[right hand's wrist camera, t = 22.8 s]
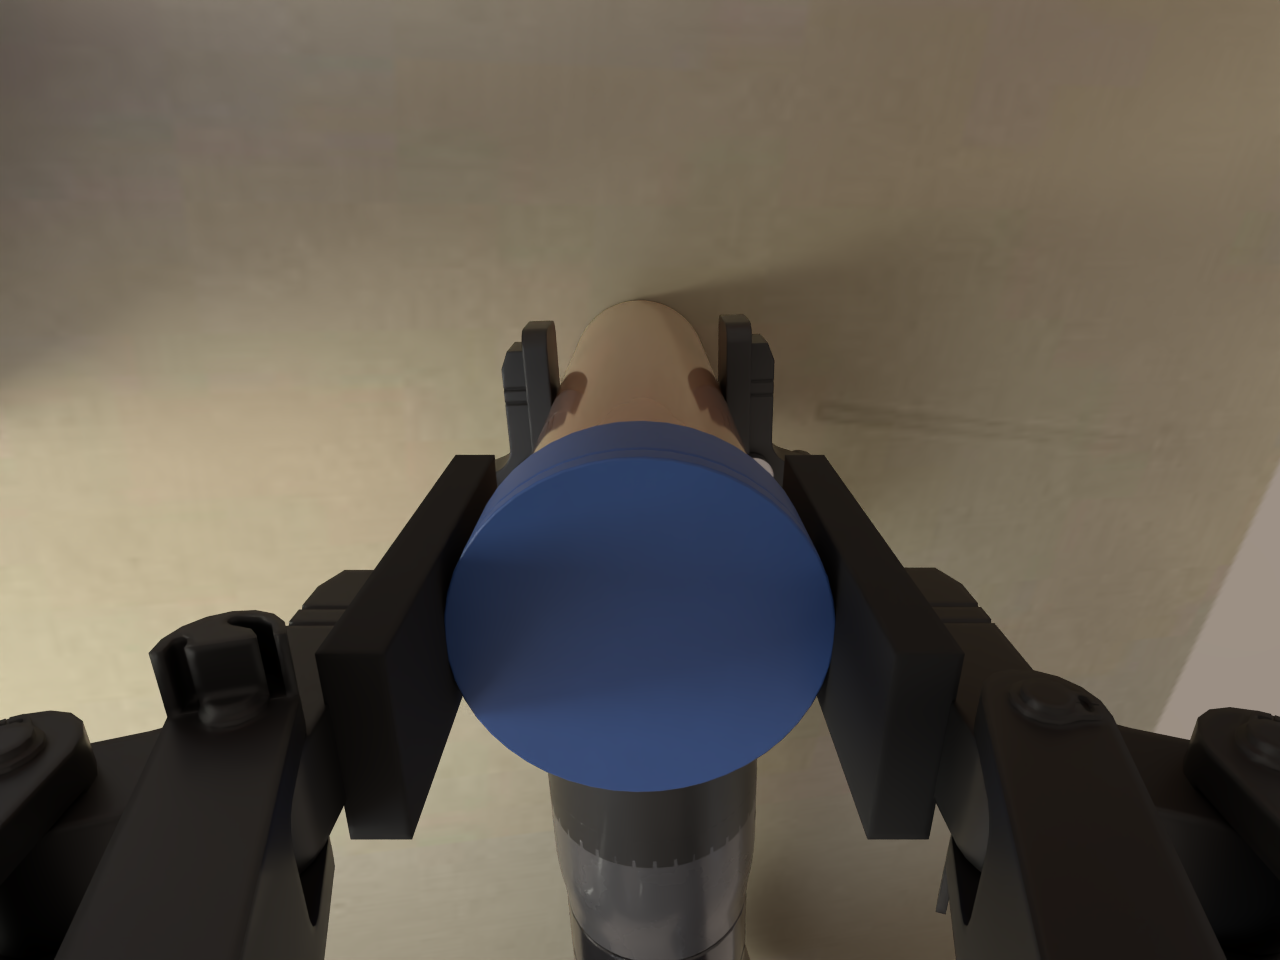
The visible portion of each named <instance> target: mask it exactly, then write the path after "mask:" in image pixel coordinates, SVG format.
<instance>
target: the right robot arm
mask: <svg viewBox="0 0 1280 960" xmlns="http://www.w3.org/2000/svg"><path fill="white" fill-rule="evenodd" d="M782 488H783V490H784V491H785V492H786V494H787V496H788V497H789V499H790V501H791V502H792V504H793V505H794V507H795V509H796V511H797V513H798V515H799V517H800V519H801V521H802V523H803V525H804V527H805V529H806V531H807V533H808V535H809V537H810V539H811V541H812V543H813V545H814V547H815V549H816V551H817V553H818V555H819V557H820V559H821V562H822V564H823V566H824V569H825V571H826V573H827V576H828V579H829V582H830V586H831V590H832V594H833V598H834V607H835V630H834V640H833V648H832V656H831V662H830V666H829V668H828V671H827V674H826V676H825V679H824V682H823V684H822V687H821V689H820V690H819V692H818V694H817V698H818V700H819V703H820V706H821V709H822V712H823V715H824V717H825V720H826V723H827V726H828V729H829V732H830V734H831V737H832V740H833V743H834V746H835V749H836V751H837V754H838V757H839V760H840V763H841V766H842V768H843V771H844V774H845V777H846V780H847V783H848V785H849V788H850V791H851V794H852V797H853V799H854V802H855V805H856V808H857V811H858V814H859V816H860V819H861V822H862V825H863V828H864V831H865V833H866V836H867V839H929V836H930V831H931V825H932V820H933V815H934V810H935V805H936V804H937V806H938V808H939V810H940V812H941V814H942V816H943V818H944V820H945V822H946V824H947V826H948V828H949V830H950V832H951V837H950V842H949V847H948V851H947V856H946V861H945V866H944V871H943V875H942V880H941V885H940V890H939V894H938V900H937V907H936V912H938V913H942V914H946V910H947V905H948V901H949V902H950V910H951V919H952V928H953V937H954V945H955V954H956V960H1280V717H1279V716H1276V715H1275V716H1272V715H1271V714H1269V713H1265V712H1260V711H1254V710H1247V709H1239V708H1232V707H1228V708H1218V709H1210V710H1208V711H1207V712H1205V713H1204V714H1202V715H1201V716H1200V717H1198V719H1197V722H1196V725H1195V728H1194V731H1193V734H1192V736H1191V739H1190V740H1186V739H1182V738H1177V737H1172V736H1167V735H1162V734H1157V733H1152V732H1147V731H1142V730H1137V729H1132V728H1128V727H1124V726H1121V725H1117V724H1116V722H1115V720H1114V718H1113V716H1112V715H1111V713H1110V712H1109V711H1108V709H1107V708H1106V707H1105V706H1104V704H1103V703H1102V702H1101V701H1100V700H1099V699H1098V698H1096V697H1095V696H1093V695H1092V694H1091V693H1089V692H1088V691H1086V690H1085V689H1084V688H1082V687H1080V686H1078V685H1076V684H1074V683H1071V682H1069V681H1067V680H1065V679H1063V678H1060V677H1058V676H1054V675H1050V674H1046V673H1042V672H1038V671H1034V670H1033V669H1032V668H1031V667H1030V666H1029V664H1028V663H1027V662H1026V661H1025V660H1024V658H1023V657H1022V656H1021V655H1020V654H1019V652H1018V651H1017V650H1016V649H1015V647H1014V646H1013V645H1012V644H1011V643H1010V641H1009V640H1008V639H1007V638H1006V637H1005V635H1004V634H1003V633H1002V632H1001V631H1000V629H999V628H998V627H997V626H996V625H995V623H991V619H990V617H989V616H988V615H987V614H986V613H985V611H984V610H983V609H982V608H981V607H978V603H977V602H976V600H975V599H974V598H973V597H972V596H971V594H970V593H969V592H968V591H967V590H966V588H965V587H964V586H963V585H962V584H961V583H959V582H958V581H956V580H954V579H953V578H951V577H950V576H948V575H946V574H945V573H943V572H941V571H940V570H938V569H936V568H904V567H903V566H902V564H901V563H900V561H899V560H898V559H897V557H896V556H895V554H894V553H893V552H892V550H891V549H890V547H889V546H888V545H887V543H886V542H885V540H884V539H883V538H882V536H881V535H880V533H879V532H878V530H877V529H876V528H875V526H874V525H873V523H872V522H871V521H870V519H869V518H868V516H867V515H866V514H865V512H864V511H863V509H862V508H861V507H860V505H859V504H858V502H857V501H856V499H855V498H854V497H853V495H852V494H851V492H850V491H849V490H848V488H847V487H846V485H845V484H844V483H843V481H842V480H841V478H840V477H839V476H838V474H837V473H836V471H835V470H834V468H833V467H832V466H831V464H830V463H829V461H828V460H827V459H826V457H825V456H824V455H785V461H784V474H783V486H782ZM496 489H497V479H496V467H495V455H455V457H454V458H453V459H452V461H451V462H450V464H449V465H448V466H447V468H446V469H445V471H444V472H443V473H442V475H441V476H440V478H439V479H438V481H437V482H436V483H435V485H434V486H433V488H432V489H431V490H430V492H429V493H428V495H427V496H426V497H425V499H424V500H423V502H422V503H421V504H420V506H419V507H418V509H417V510H416V511H415V513H414V514H413V516H412V517H411V519H410V520H409V521H408V523H407V524H406V526H405V527H404V528H403V530H402V531H401V533H400V534H399V535H398V537H397V538H396V540H395V541H394V542H393V544H392V545H391V547H390V548H389V550H388V551H387V552H386V554H385V555H384V557H383V558H382V559H381V561H380V562H379V564H378V565H377V566H376V568H375V569H374V570H344V571H342V572H341V573H339V574H338V575H336V576H334V577H333V578H331V579H329V580H328V581H326V582H325V583H323V584H321V585H320V586H318V587H317V588H316V590H315V591H314V592H313V593H312V594H311V596H310V597H309V598H308V599H307V601H306V602H305V603H304V604H303V605H302V610H298V611H297V613H296V614H295V615H294V616H293V618H292V619H291V620H290V621H289V626H285V622H284V621H283V620H282V619H280V618H279V617H278V616H276V615H275V614H273V613H268V612H262V611H257V610H249V611H231V612H227V613H222V614H218V615H213V616H209V617H205V618H203V619H200V620H197V621H195V622H192V623H190V624H187V625H185V626H182V627H180V628H179V629H177V630H176V631H174V632H172V633H171V634H169V635H167V636H166V637H164V638H163V639H161V640H160V641H159V642H158V643H157V645H156V646H155V647H154V648H153V649H152V650H151V651H150V652H149V656H150V659H151V663H152V666H153V670H154V673H155V676H156V680H157V683H158V687H159V690H160V693H161V697H162V700H163V704H164V707H165V710H166V714H167V719H166V721H165V723H164V726H163V728H160V729H156V730H152V731H149V732H144V733H139V734H134V735H129V736H124V737H119V738H114V739H109V740H104V741H100V742H95V743H90V741H89V738H88V735H87V732H86V730H85V727H84V724H83V721H82V720H80V719H79V718H78V717H76V716H75V715H73V714H72V713H68V712H59V711H44V712H37V713H29V714H22V715H18V716H13V717H10V718H9V719H7V720H6V719H3V720H0V960H324V956H325V947H326V939H327V930H328V921H329V912H330V903H331V895H332V886H333V877H334V868H335V865H334V858H333V851H332V847H331V842H330V837H329V835H330V833H331V831H332V829H333V827H334V825H335V823H336V821H337V819H338V817H339V815H340V813H341V810H342V808H343V806H344V807H345V812H346V818H347V823H348V828H349V833H350V838H351V839H412V838H413V835H414V832H415V829H416V826H417V824H418V821H419V818H420V815H421V812H422V810H423V807H424V804H425V801H426V798H427V795H428V793H429V790H430V787H431V784H432V781H433V778H434V776H435V773H436V770H437V767H438V764H439V761H440V759H441V756H442V753H443V750H444V747H445V744H446V742H447V739H448V736H449V733H450V730H451V728H452V725H453V722H454V719H455V716H456V713H457V711H458V708H459V705H460V702H461V699H462V696H463V695H462V693H461V691H460V689H459V687H458V685H457V683H456V681H455V678H454V675H453V672H452V669H451V666H450V663H449V660H448V652H447V644H446V635H445V625H444V611H445V604H446V597H447V591H448V588H449V585H450V581H451V578H452V575H453V571H454V569H455V567H456V565H457V563H458V561H459V559H460V557H461V554H462V552H463V550H464V548H465V546H466V544H467V542H468V540H469V538H470V536H471V534H472V532H473V530H474V528H475V526H476V524H477V522H478V520H479V518H480V516H481V514H482V512H483V510H484V508H485V506H486V504H487V503H488V501H489V500H490V498H491V497H492V495H493V494H494V492H495V491H496Z"/></svg>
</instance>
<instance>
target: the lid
mask: <svg viewBox="0 0 1280 960" xmlns="http://www.w3.org/2000/svg"><path fill="white" fill-rule="evenodd" d="M444 625H445V635H446V644H447V652H448V660H449V663H450V666H451V669H452V672H453V675H454V678H455V681H456V683H457V685H458V687H459V689H460V691H461V693H462V695H463V697H464V699H465V701H466V702H467V704H468V705H469V707H470V708H471V710H472V711H473V713H474V714H475V716H476V717H477V718H478V719H479V721H480V722H481V723H482V724H483V725H484V726H485V727H486V728H487V730H488V731H489V732H490V733H491V734H492V735H493V736H494V737H495V738H497V739H498V740H499V741H500V742H501V743H502V744H503V745H505V746H506V747H507V748H508V749H509V750H511V751H512V752H514V753H515V754H517V755H518V756H520V757H521V758H523V759H524V760H526V761H527V762H529V763H531V764H533V765H535V766H536V767H538V768H540V769H542V770H544V771H546V772H548V773H551V774H553V775H556V776H558V777H561V778H563V779H566V780H568V781H572V782H576V783H579V784H583V785H586V786H590V787H596V788H601V789H607V790H613V791H629V792H650V791H664V790H672V789H679V788H685V787H689V786H693V785H697V784H701V783H705V782H708V781H710V780H713V779H716V778H719V777H722V776H724V775H727V774H729V773H731V772H733V771H735V770H737V769H739V768H741V767H743V766H745V765H747V764H749V763H750V762H752V761H754V760H755V759H757V758H758V757H760V756H761V755H763V754H765V753H766V752H767V751H769V750H770V749H771V748H772V747H773V746H775V745H776V744H777V743H778V742H780V741H781V740H782V739H783V738H784V737H785V736H786V735H787V734H788V733H789V732H790V731H791V730H792V729H793V728H794V727H795V726H796V725H797V724H798V723H799V721H800V720H801V719H802V717H803V716H804V715H805V713H806V712H807V710H808V709H809V708H810V706H811V705H812V703H813V701H814V700H815V698H816V696H817V694H818V692H819V690H820V689H821V687H822V684H823V682H824V679H825V676H826V674H827V671H828V668H829V666H830V662H831V656H832V648H833V640H834V630H835V607H834V598H833V594H832V590H831V586H830V582H829V579H828V576H827V573H826V571H825V569H824V566H823V564H822V562H821V559H820V557H819V555H818V553H817V551H816V549H815V547H814V545H813V543H812V541H811V539H810V537H809V535H808V533H807V531H806V529H805V527H804V525H803V523H802V521H801V519H800V517H799V515H798V513H797V511H796V509H795V507H794V505H793V504H792V502H791V501H790V499H789V497H788V496H787V494H786V492H785V491H784V490H783V488H782V487H781V486H780V485H779V484H778V482H777V481H776V480H775V479H774V478H773V476H772V475H771V474H770V473H769V472H768V471H767V470H765V469H764V468H763V467H762V466H761V465H760V464H759V463H758V462H757V461H755V460H754V459H753V458H752V457H750V456H749V455H747V454H746V453H744V452H743V451H741V450H740V449H738V448H737V447H735V446H734V445H732V444H730V443H728V442H726V441H724V440H722V439H720V438H718V437H716V436H714V435H711V434H708V433H705V432H702V431H699V430H696V429H694V428H690V427H686V426H681V425H676V424H671V423H665V422H653V421H626V422H615V423H609V424H603V425H598V426H593V427H590V428H587V429H583V430H580V431H577V432H574V433H571V434H569V435H567V436H564V437H562V438H560V439H558V440H556V441H553V442H551V443H549V444H548V445H546V446H545V447H543V448H541V449H540V450H538V451H537V452H535V453H533V454H532V455H530V456H529V457H528V458H527V459H526V460H524V461H523V462H522V463H521V464H520V465H518V466H517V467H516V468H515V469H514V470H513V471H512V472H511V473H510V474H509V475H508V476H507V477H506V478H505V480H504V481H503V482H502V483H501V484H500V485H499V486H498V488H497V489H496V491H495V492H494V494H493V495H492V497H491V498H490V500H489V501H488V503H487V504H486V506H485V508H484V510H483V512H482V514H481V516H480V518H479V520H478V522H477V524H476V526H475V528H474V530H473V532H472V534H471V536H470V538H469V540H468V542H467V544H466V546H465V548H464V550H463V552H462V554H461V557H460V559H459V561H458V563H457V565H456V567H455V569H454V571H453V575H452V578H451V581H450V585H449V588H448V591H447V597H446V604H445V611H444Z"/></svg>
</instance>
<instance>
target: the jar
mask: <svg viewBox="0 0 1280 960" xmlns="http://www.w3.org/2000/svg"><path fill="white" fill-rule="evenodd" d="M626 421H653V422H665V423H671V424H676V425H681V426H686V427H690V428H694V429H696V430H699V431H702V432H705V433H708V434H711V435H714V436H716V437H718V438H720V439H722V440H724V441H726V442H728V443H730V444H732V445H734V446H735V447H737V448H738V449H740V450H741V451H743V452H744V453H746V454H747V455H748V453H747V451H746V448H745V446H744V444H743V441H742V439H741V437H740V434H739V432H738V429H737V427H736V425H735V422H734V420H733V418H732V415H731V413H730V410H729V408H728V406H727V403H726V401H725V398H724V396H723V394H722V391H721V389H720V387H719V384H718V382H717V379H716V377H715V375H714V372H713V370H712V367H711V365H710V363H709V360H708V358H707V356H706V353H705V351H704V348H703V346H702V344H701V341H700V339H699V337H698V335H697V333H696V331H695V330H694V328H693V327H692V326H691V324H690V323H689V322H688V321H687V320H686V319H685V318H684V317H683V316H682V315H681V314H679V313H678V312H677V311H675V310H673V309H672V308H670V307H668V306H665V305H663V304H660V303H657V302H653V301H646V300H634V301H626V302H623V303H619V304H616V305H614V306H612V307H610V308H608V309H606V310H604V311H603V312H601V313H600V314H599V315H598V316H596V317H595V318H594V319H593V320H592V321H591V322H590V324H589V325H588V326H587V328H586V329H585V330H584V332H583V334H582V336H581V338H580V340H579V342H578V345H577V347H576V350H575V352H574V354H573V357H572V359H571V361H570V364H569V366H568V369H567V371H566V373H565V376H564V378H563V381H562V383H561V385H560V388H559V390H558V392H557V395H556V397H555V400H554V402H553V404H552V407H551V409H550V412H549V414H548V416H547V419H546V421H545V423H544V426H543V428H542V431H541V433H540V435H539V438H538V440H537V442H536V445H535V447H534V450H533V452H532V454H533V453H535V452H537V451H538V450H540V449H541V448H543V447H545V446H546V445H548V444H549V443H551V442H553V441H556V440H558V439H560V438H562V437H564V436H567V435H569V434H571V433H574V432H577V431H580V430H583V429H587V428H590V427H593V426H598V425H603V424H609V423H615V422H626ZM532 454H531V455H532Z"/></svg>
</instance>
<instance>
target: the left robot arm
mask: <svg viewBox="0 0 1280 960" xmlns="http://www.w3.org/2000/svg"><path fill="white" fill-rule="evenodd" d="M502 378H503V387H504V396H505V403H506V415H507V424H508V433H509V442H510V453H509V454H507V455H506V456H504V457H501V458H499V459H496V460H495V467H496V479H497V488H498V486H499V485H500V484H501V483H502V482H503V481H504V480H505V478H506V477H507V476H508V475H509V474H510V473H511V472H512V471H513V470H514V469H515V468H516V467H517V466H518V465H520V464H521V463H522V462H523V461H524V460H526V459H527V458H528V457H529V456H530V455H531V454H532V452H533V450H534V447H535V445H536V442H537V440H538V438H539V435H540V433H541V431H542V428H543V426H544V423H545V421H546V419H547V416H548V414H549V412H550V409H551V407H552V404H553V402H554V400H555V397H556V395H557V392H558V390H559V388H560V381H559V368H558V356H557V343H556V331H555V325H554V321H530V322H529V323H528V324H527V325H526V326H525V327H524V328H523V330H522V342H515V343H514V344H513V345H512V346H511V347H510V349H509V350H508V351H507V353H506V356H505V360H504V363H503V367H502ZM773 380H774V358H773V356H772V353H771V350H770V348H769V345H768V343H767V342H766V340H765V339H764V338H763V337H762V336H761V335H760V334H752V331H751V324H750V321H749V320H748V319H747V318H746V316H745V315H744V314H738V315H720V316H719V339H718V384H719V387H720V389H721V391H722V394H723V396H724V398H725V401H726V403H727V406H728V408H729V410H730V413H731V415H732V418H733V420H734V422H735V425H736V427H737V429H738V432H739V434H740V437H741V439H742V441H743V444H744V446H745V448H746V451H747V453H748V455H749V456H750V457H752V458H753V459H754V460H755V461H757V462H758V463H759V464H760V465H761V466H762V467H763V468H764V469H765V470H767V471H768V472H769V473H770V474H771V475H772V476H773V478H774V479H775V480H776V481H777V482H778V484H779V485H780V486H781V487H782V486H783V474H784V461H785V455H810V454H809V453H808V452H806V451H802V450H795V451H789V450H786V449H783V448H780V447H777V446H775V445H774V444H773V443H772V418H773V387H774V382H773ZM548 775H549V785H550V794H551V804H552V813H553V822H554V831H555V841H556V848H557V855H558V859H559V864H560V868H561V872H562V875H563V878H564V882H565V885H566V888H567V893H568V902H569V912H570V922H571V931H572V941H573V949H574V959H575V960H750V958H749V955H748V951H747V948H746V945H745V925H746V890H747V881H748V877H749V873H750V868H751V863H752V857H753V851H754V840H755V811H756V775H757V759H755V760H754V761H752V762H750V763H749V764H747V765H745V766H743V767H741V768H739V769H737V770H735V771H733V772H731V773H729V774H727V775H724V776H722V777H719V778H716V779H713V780H710V781H708V782H705V783H701V784H697V785H693V786H689V787H685V788H679V789H672V790H664V791H650V792H629V791H613V790H607V789H601V788H596V787H590V786H586V785H583V784H579V783H576V782H572V781H568V780H566V779H563V778H561V777H558V776H556V775H553V774H551V773H548Z"/></svg>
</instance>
